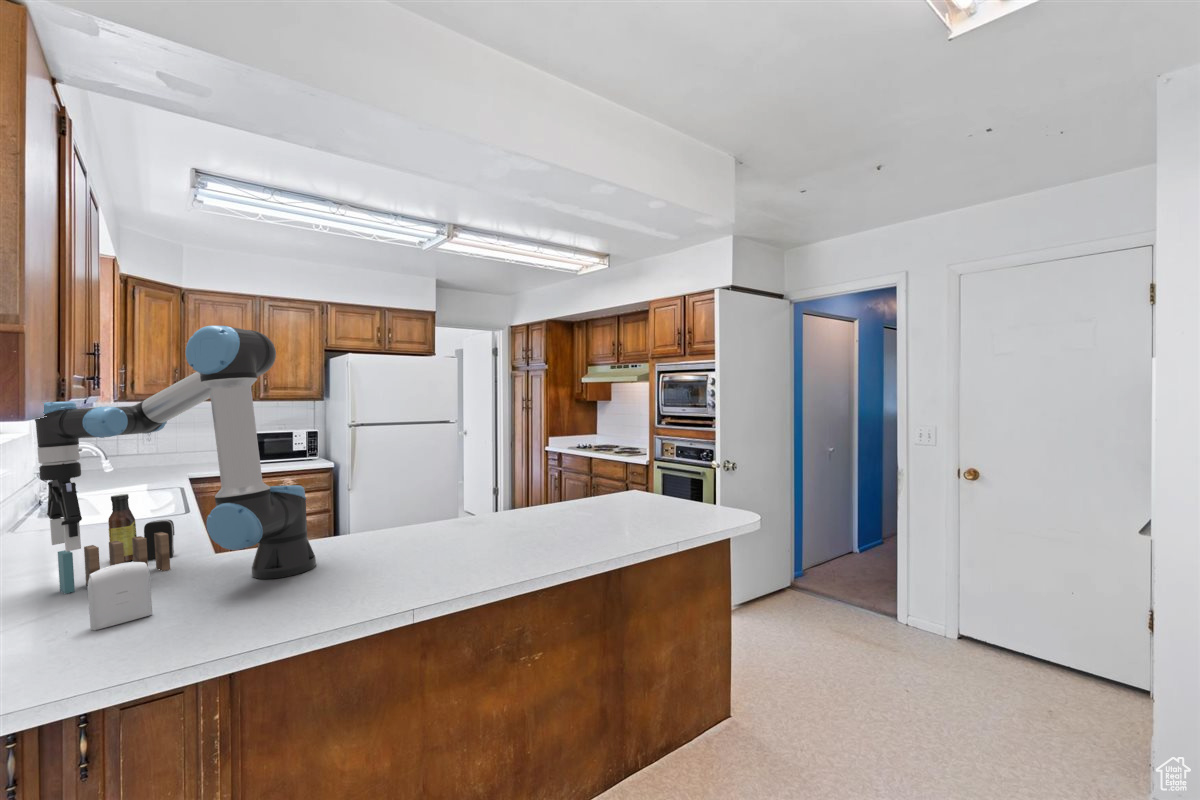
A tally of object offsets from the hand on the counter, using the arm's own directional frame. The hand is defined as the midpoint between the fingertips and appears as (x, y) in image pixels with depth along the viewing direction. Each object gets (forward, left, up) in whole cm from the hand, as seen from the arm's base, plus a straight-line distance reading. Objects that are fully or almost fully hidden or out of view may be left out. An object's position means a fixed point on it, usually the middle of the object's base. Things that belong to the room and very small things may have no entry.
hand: (66, 546), depth 142 cm
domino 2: (0, -5, -11) cm, 12 cm away
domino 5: (0, -20, -11) cm, 23 cm away
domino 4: (0, -15, -11) cm, 19 cm away
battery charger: (+15, -24, -12) cm, 31 cm away
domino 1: (0, 0, -11) cm, 11 cm away
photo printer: (-39, -1, -12) cm, 40 cm away
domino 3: (0, -10, -11) cm, 15 cm away
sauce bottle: (+22, -17, -12) cm, 30 cm away
